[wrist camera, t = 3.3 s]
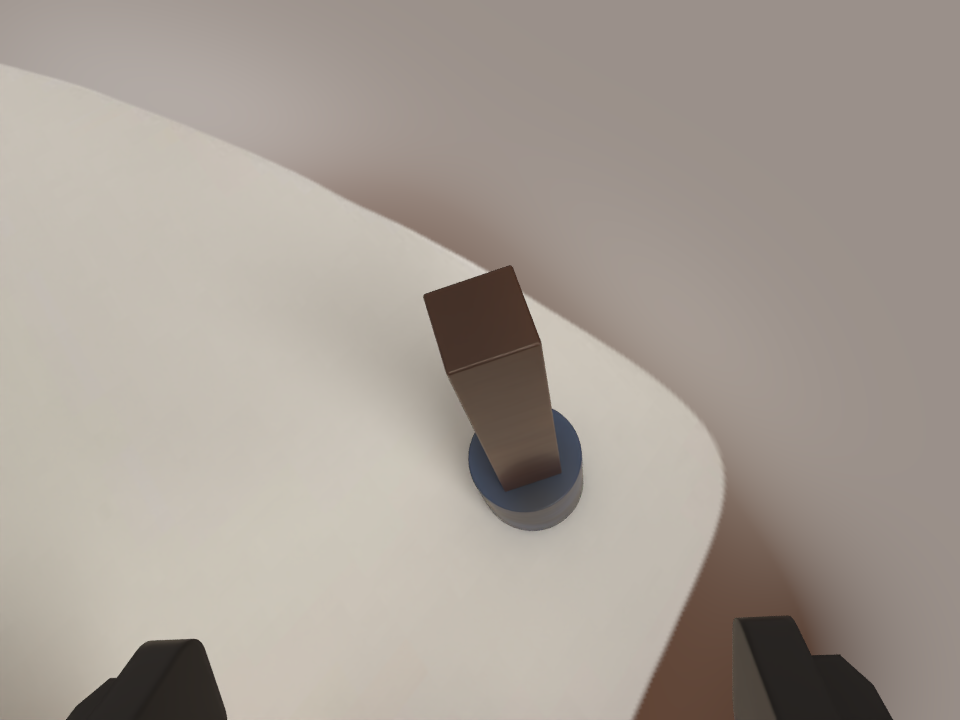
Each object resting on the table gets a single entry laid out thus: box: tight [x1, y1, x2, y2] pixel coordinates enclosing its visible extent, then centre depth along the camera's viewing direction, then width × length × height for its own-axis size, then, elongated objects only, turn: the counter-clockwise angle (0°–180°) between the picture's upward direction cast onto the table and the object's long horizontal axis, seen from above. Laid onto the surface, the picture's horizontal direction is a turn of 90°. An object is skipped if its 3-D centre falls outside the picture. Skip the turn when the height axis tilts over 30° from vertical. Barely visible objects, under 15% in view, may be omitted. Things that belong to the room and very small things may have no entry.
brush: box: [423, 265, 583, 531], centre depth 24 cm, size 5×5×16 cm
